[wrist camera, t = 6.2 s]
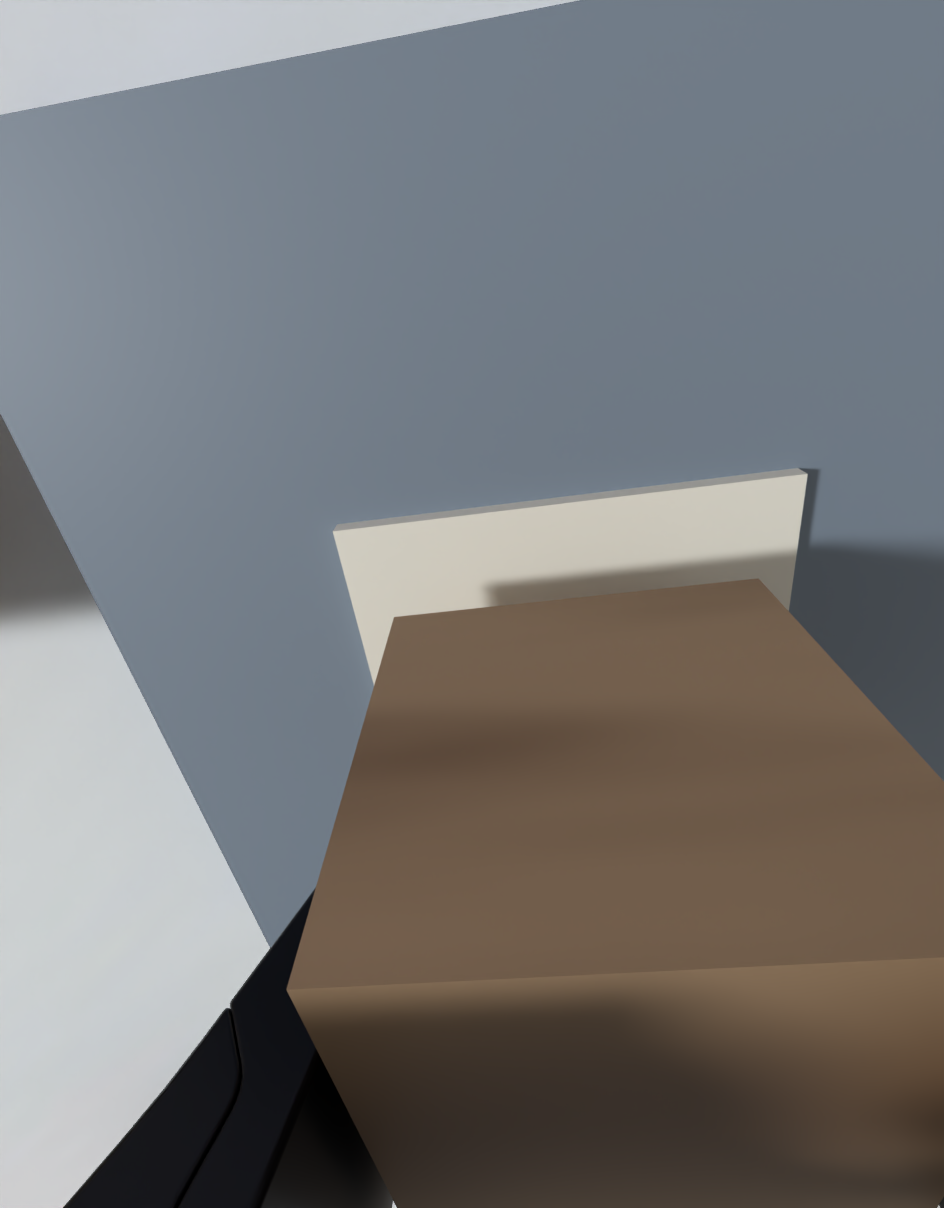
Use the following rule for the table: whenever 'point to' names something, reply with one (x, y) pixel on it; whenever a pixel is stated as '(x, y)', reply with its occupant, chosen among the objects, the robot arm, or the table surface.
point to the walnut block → (632, 916)
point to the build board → (483, 360)
